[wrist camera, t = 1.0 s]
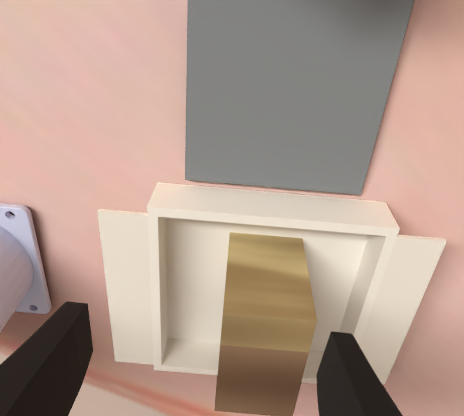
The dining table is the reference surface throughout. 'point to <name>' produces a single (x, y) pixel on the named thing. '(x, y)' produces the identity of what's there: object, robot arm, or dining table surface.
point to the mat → (289, 89)
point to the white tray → (215, 265)
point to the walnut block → (264, 325)
